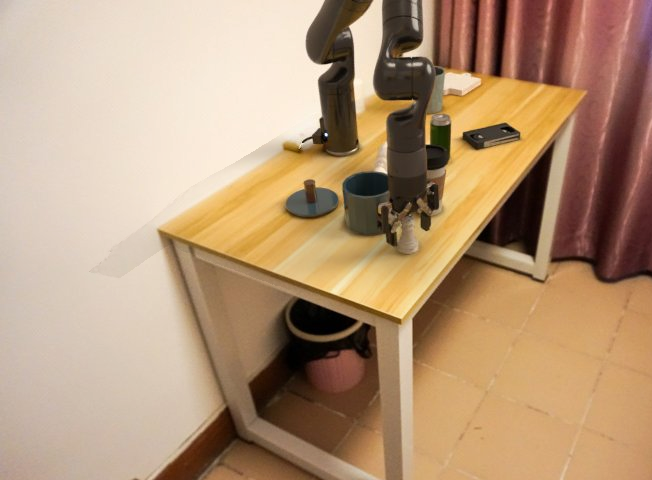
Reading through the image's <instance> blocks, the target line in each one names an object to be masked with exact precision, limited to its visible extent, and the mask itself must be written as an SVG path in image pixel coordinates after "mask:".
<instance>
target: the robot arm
mask: <svg viewBox="0 0 652 480" xmlns="http://www.w3.org/2000/svg"><path fill="white" fill-rule="evenodd" d="M373 3H374V0H324V1H323V3H322V5H321V7H320V9H319V11H318V13H317V14H316V16H315V17H314V19H313V20H312V21H311V24H310V25H309V26H308V29H307V31H306V35H305V41H304V42H305V43H304V44H305V51H306V54H307V57H308V58H309V60H310V61H311V62H312V63H313V64H315V65H319V66H325V65H329V64H331V65H330V66H329V68H327V70H326V71H324V73H322V74H321V75H319V76H318V79H317V88H318V96H319V103H320V110H321V111H320V112H321V113H320V114H321V117H320V118H319V119H318V120H319V128H317V129H316V130H315V131H314V132H313V133H312V134H311V135H310V136H308V137H305V138H304V139H303V140H302V141H301V142H302V143H306V142H308V141H310V140H312V145H317V146H322V152H323V153H324V152H325V153H327V154H329V155H331V156H335V157H346V156H350V155H353V154H355V153H357V152H358V151H359V149H360V139H359V130H358V129H359V128H358V120H357V119H358V118H357V107H356V95H355V84H354V82H355V78H356V68H355V67H356V66H355V42H354V37H353V33H352V30H351V28H350V26H352V25H353V24H354V23H355V22H357V21H358V20H359V19H361V18H362V17H363V16H364V15H365V14H366V13H367V11H368V10H369V9H370V8H371V6H372V4H373ZM423 12H424V10H423V0H382V3H381V25H382V27H381V28H382V33H381V34H382V35H381V36H382V37H381V43H380V49H379V53H378V57H377V59H376V63H375V67H374V70H373V75H372V86H373V91H374V93H375V95H376V96H377V98H379V99H380V100H381V101H384V102H403V101H404V102H407V101H408V102H409V101H413V102H412V103H411V104H410V105H408V106H406V107H403V108H399V109H397V110H393V111H392V112H390V113H389V114H388V115H387V117H386V119H385V120H386V121H385V127H386V131H385V132H386V141H387V176H388V189H389V192H390V198H389V201H388V202H385V203H381V202H377V204H376V228H377V229H378V230H380V231H381V232H383V233H382V234H384V235H385V241H386V243H387V244H388V245H389V246H390V247H393V248H395V247H398V232H397V229H398V227H399V225H401V223H402V221H403V219H404V217H406V216H408V215H411V214H414V213H417V211H418V209H420V210H421V211H422V212H421V213H420V214H419V220H420V221H419V222H420V223H419V225H420V229H422V230H423V231H425V232H428V231H430V229H431V226H432V216H431V215H432V213H433V211H434V210H438V209H439V190H438V185H437V184H435V183H433V182H432V181H430V180H428V181H427V152H426V141H427V140H426V139H427V138H426V122H427V116H428V114H427V110H428V106H429V102H430V99H431V96H432V93H433V90H434V86H435V81H436V71H435V67H434V66H435V65H434V63H433V62H432V60H431V59H430V58H429V57H426V56H420V55H419V56H401V55H403V54H406V53H409V52H412V51H415V50H417V49H418V48H419V47H420V46H421V45H422V44H423V42H424V13H423ZM297 150H298V151H301V150H302V147H301V148H300V149H298V148H297ZM426 194H427V205H426V204H425V203H424V202H423V200H424V198H425V196H426ZM395 211H396V212H397V216H395ZM393 220H394V222H393V224H392V225H391V223H392V221H393Z"/></svg>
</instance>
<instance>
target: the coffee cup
mask: <svg viewBox="0 0 652 480" xmlns="http://www.w3.org/2000/svg"><path fill="white" fill-rule="evenodd" d="M425 144H426V143H425ZM426 152H427V181H428V180H430V181H432V182H433V183H435V184H437V185H438V190H439V209H438V210H434V211H433V213H432V215H431V217H434V216H437V215H439V214H440V213H441V211H442V207H443V198H444V191H445V184H446V175H447V168H446V167H447V165H448V163H449V162H448V156H447V150H446V148H445V147H443V146H439V145H431V144H430V143H429V144H428V143H427V144H426ZM423 202H424V203H425V204H426V205H427V194H426V196H425V198H424V200H423ZM421 212H422V211H421V210H420V209H418V211H417V212H416V213H417V214H419V215H420V213H421Z"/></svg>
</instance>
